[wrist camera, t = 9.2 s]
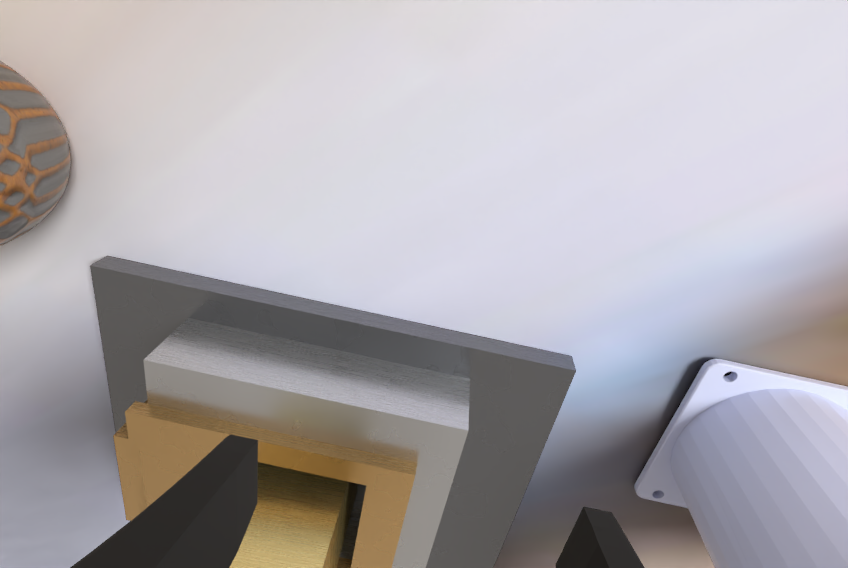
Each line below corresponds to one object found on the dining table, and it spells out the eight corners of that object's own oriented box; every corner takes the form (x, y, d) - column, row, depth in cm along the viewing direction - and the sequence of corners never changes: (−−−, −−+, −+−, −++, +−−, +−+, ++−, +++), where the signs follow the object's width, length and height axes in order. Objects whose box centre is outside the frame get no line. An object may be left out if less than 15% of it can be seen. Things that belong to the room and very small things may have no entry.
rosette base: (571, 356, 20) (595, 436, 16) (484, 569, 27) (485, 663, 23) (107, 255, 20) (12, 309, 16) (139, 493, 27) (78, 573, 23)
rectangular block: (363, 431, 22) (311, 602, 15) (356, 493, 24) (308, 670, 17) (273, 415, 22) (182, 577, 15) (273, 478, 24) (193, 647, 17)
